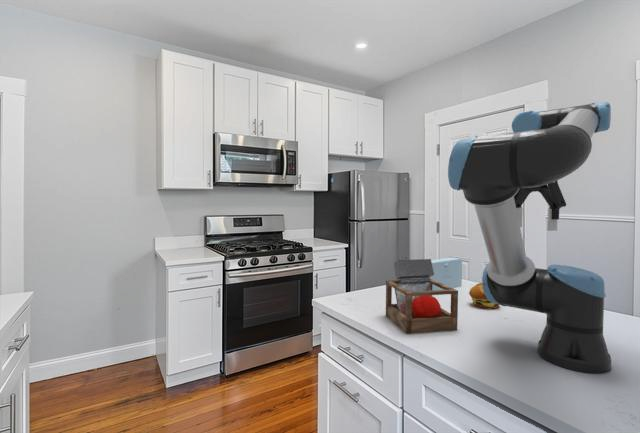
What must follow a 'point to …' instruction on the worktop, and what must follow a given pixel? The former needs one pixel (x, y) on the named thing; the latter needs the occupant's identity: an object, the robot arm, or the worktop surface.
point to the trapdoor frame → (421, 324)
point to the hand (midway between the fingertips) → (533, 228)
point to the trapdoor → (412, 270)
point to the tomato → (426, 307)
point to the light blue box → (447, 272)
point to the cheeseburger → (481, 297)
